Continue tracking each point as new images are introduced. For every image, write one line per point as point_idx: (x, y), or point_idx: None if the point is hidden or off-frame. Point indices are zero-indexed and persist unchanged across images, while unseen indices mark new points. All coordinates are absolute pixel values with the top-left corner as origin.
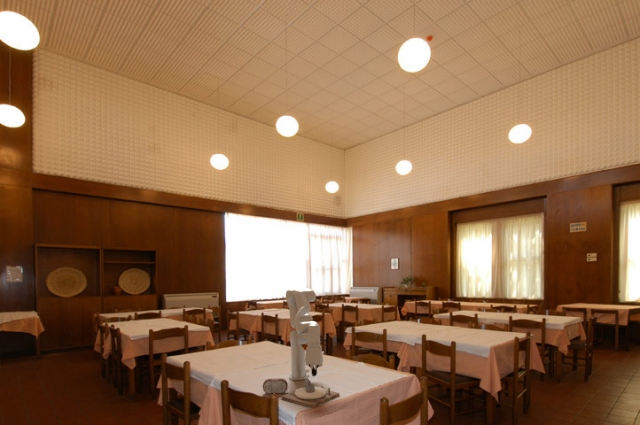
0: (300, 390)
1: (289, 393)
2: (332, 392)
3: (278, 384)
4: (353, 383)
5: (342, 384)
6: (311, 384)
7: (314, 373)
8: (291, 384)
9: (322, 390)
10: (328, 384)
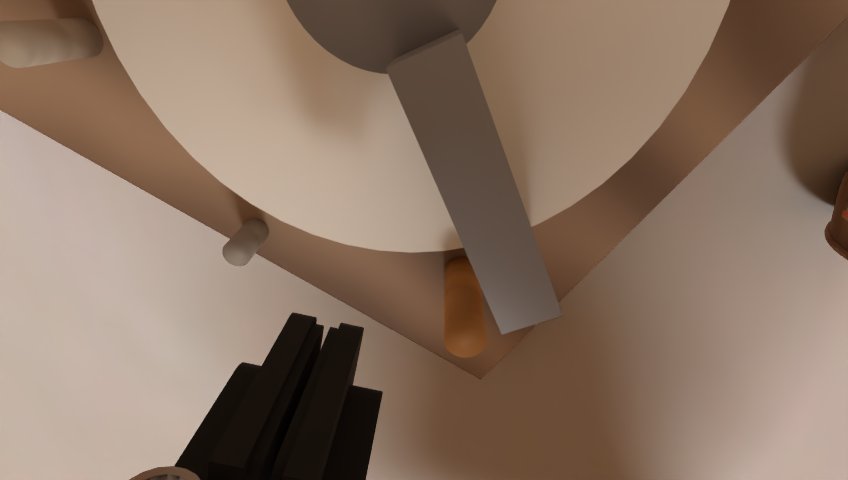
0: (618, 25)
1: (811, 35)
2: (51, 94)
3: None
4: (9, 465)
5: (110, 446)
6: (372, 58)
7: (269, 360)
8: (682, 465)
9: (166, 28)
10: None
